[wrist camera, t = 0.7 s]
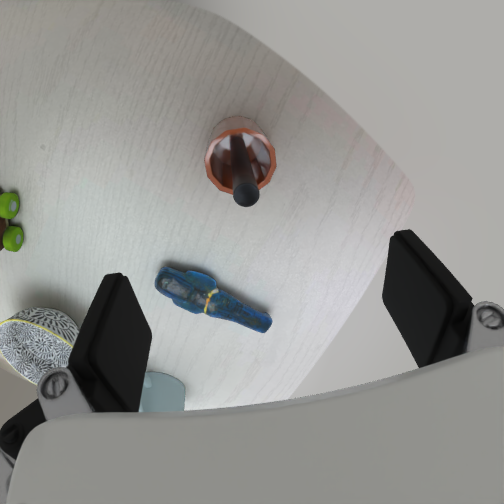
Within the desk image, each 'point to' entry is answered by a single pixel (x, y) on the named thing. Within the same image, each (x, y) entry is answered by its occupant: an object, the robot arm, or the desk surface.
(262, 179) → the pen pot
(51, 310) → the bowl
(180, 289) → the figurine
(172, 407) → the mug
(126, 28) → the desk surface
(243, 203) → the stylus
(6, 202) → the toy car
